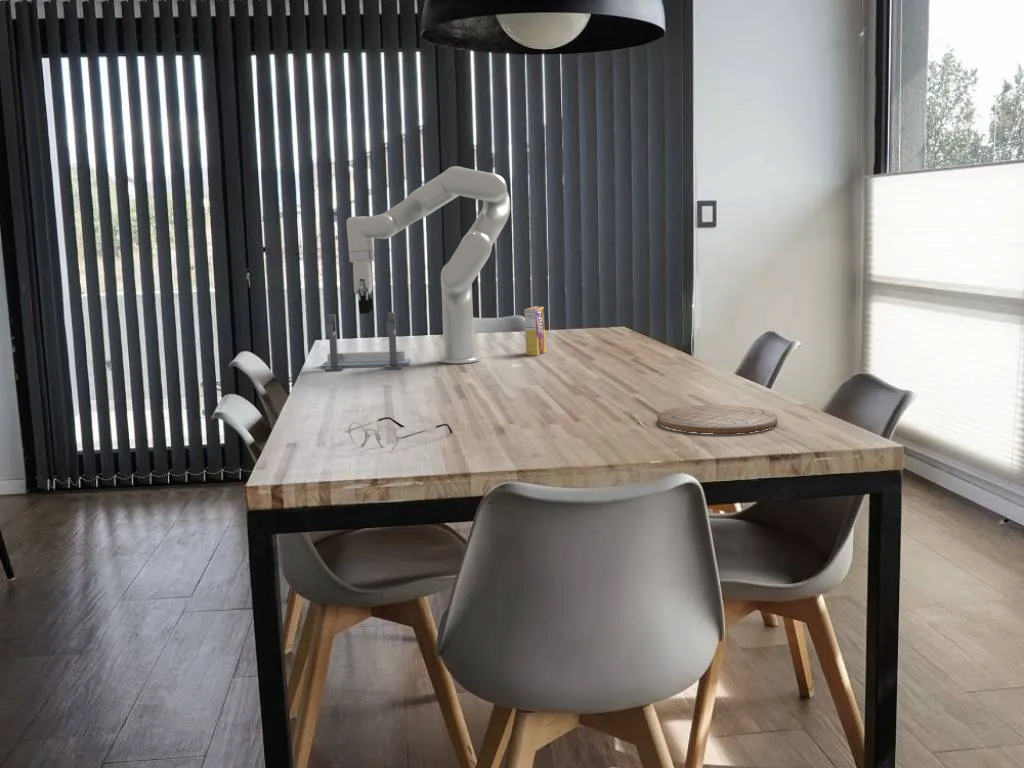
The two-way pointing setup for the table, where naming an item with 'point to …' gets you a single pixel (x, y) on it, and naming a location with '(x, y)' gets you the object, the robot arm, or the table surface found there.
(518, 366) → the table surface
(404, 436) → the eyeglasses
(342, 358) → the steel rail
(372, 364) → the rubber mat
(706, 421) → the trivet
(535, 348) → the candy box
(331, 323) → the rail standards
